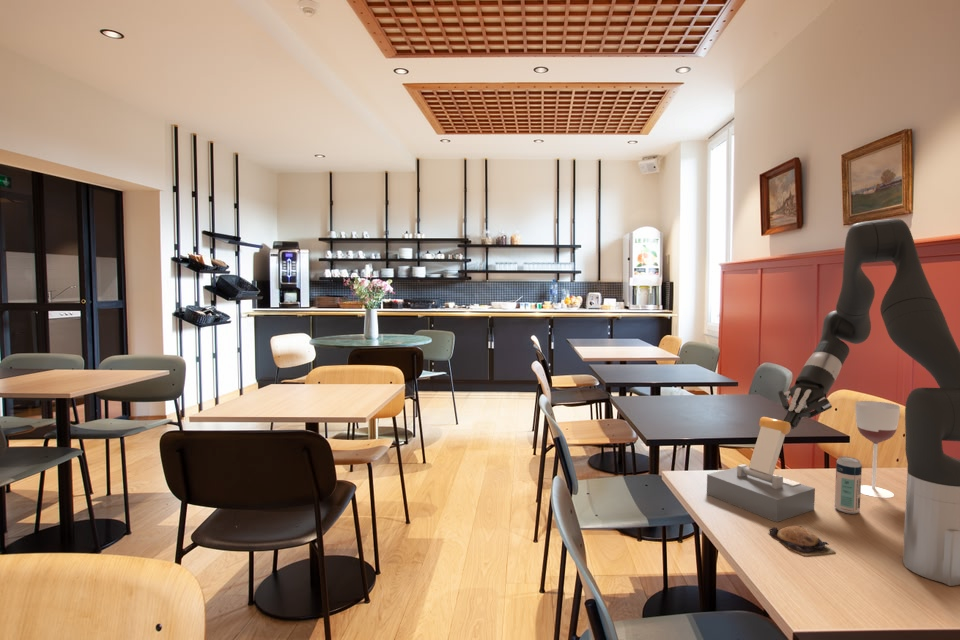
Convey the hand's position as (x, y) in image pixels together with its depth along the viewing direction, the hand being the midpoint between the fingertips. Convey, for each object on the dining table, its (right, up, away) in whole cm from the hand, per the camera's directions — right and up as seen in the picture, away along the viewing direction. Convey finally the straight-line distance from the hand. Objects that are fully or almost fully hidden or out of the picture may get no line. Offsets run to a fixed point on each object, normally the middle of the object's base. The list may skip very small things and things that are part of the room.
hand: (788, 426), depth 131 cm
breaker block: (-10, -17, -4) cm, 20 cm away
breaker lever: (-10, -11, -5) cm, 15 cm away
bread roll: (-12, -19, -24) cm, 33 cm away
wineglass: (+23, -17, +2) cm, 29 cm away
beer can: (+8, -18, -9) cm, 21 cm away
